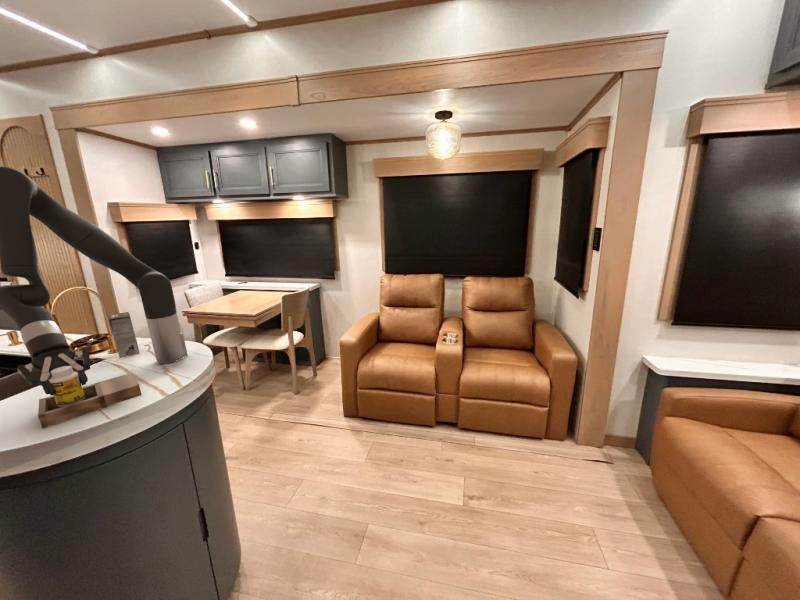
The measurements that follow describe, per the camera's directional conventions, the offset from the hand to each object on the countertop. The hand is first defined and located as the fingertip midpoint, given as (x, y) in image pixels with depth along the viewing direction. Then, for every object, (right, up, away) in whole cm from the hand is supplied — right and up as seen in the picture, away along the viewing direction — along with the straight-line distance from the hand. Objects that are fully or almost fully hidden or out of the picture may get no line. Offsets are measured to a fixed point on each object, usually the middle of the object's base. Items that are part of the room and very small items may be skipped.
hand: (68, 388), depth 86 cm
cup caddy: (+2, -6, +5) cm, 8 cm away
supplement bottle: (-1, -5, +2) cm, 5 cm away
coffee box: (-20, +2, +42) cm, 46 cm away
